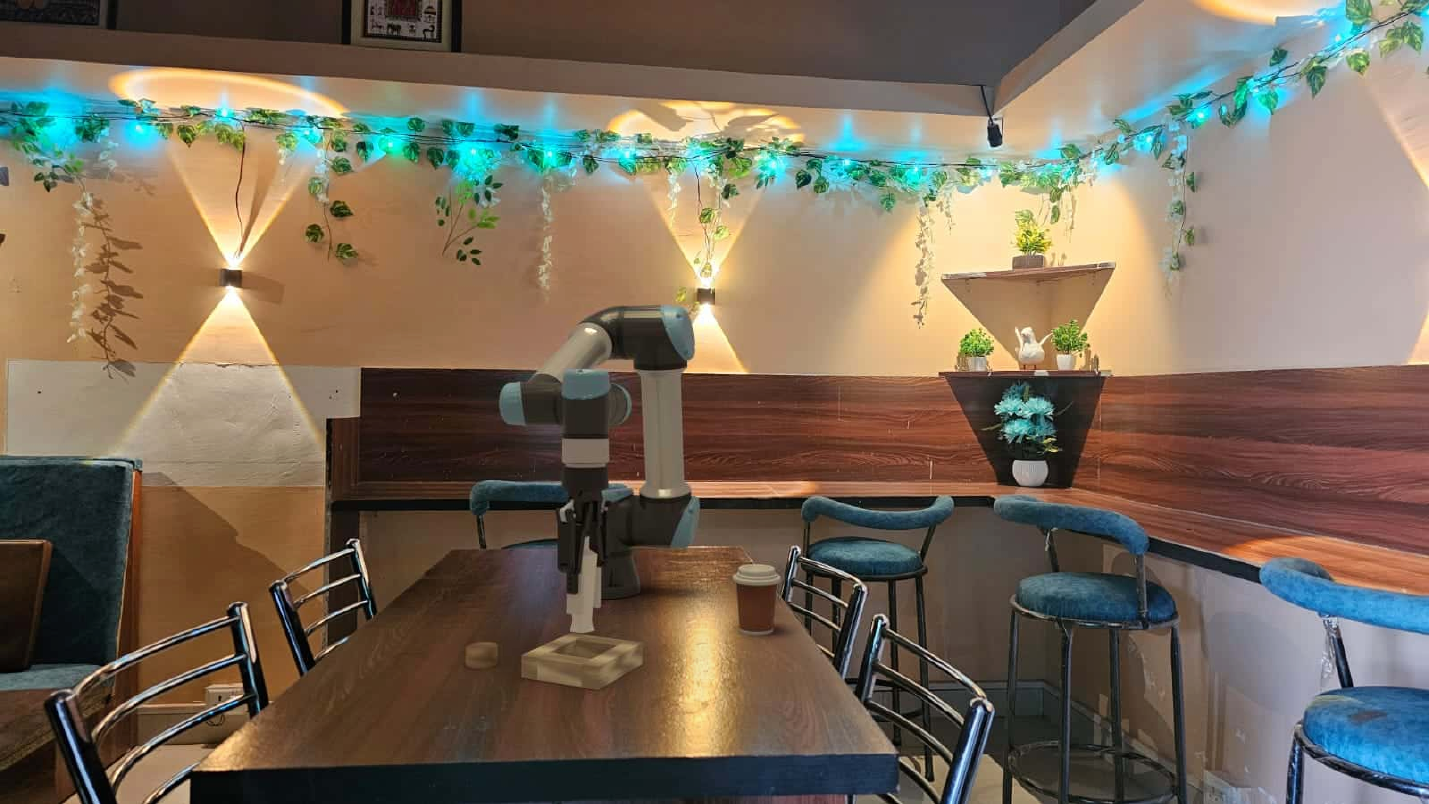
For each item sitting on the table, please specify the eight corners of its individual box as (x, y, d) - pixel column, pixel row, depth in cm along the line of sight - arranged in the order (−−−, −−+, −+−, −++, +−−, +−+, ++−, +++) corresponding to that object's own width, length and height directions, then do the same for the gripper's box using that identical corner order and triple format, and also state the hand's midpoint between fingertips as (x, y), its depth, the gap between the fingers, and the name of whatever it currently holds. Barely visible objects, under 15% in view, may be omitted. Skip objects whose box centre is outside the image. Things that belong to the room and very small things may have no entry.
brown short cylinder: (479, 658, 142) (479, 640, 142) (503, 662, 140) (503, 644, 140) (459, 667, 137) (459, 648, 137) (484, 671, 135) (484, 652, 135)
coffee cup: (755, 640, 154) (756, 574, 154) (722, 629, 161) (722, 566, 161) (790, 631, 160) (790, 568, 160) (756, 622, 167) (757, 561, 167)
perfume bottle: (591, 634, 133) (592, 539, 133) (565, 633, 134) (566, 538, 134) (601, 627, 137) (601, 535, 138) (575, 625, 138) (576, 534, 138)
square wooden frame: (570, 653, 145) (570, 633, 145) (642, 663, 139) (642, 642, 139) (521, 677, 132) (521, 655, 132) (598, 690, 127) (598, 666, 127)
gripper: (593, 461, 145) (592, 596, 145) (533, 467, 129) (532, 620, 129) (632, 462, 142) (630, 601, 142) (575, 469, 126) (574, 625, 126)
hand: (584, 609), depth 136 cm, fingers closed on perfume bottle, 4 cm apart
